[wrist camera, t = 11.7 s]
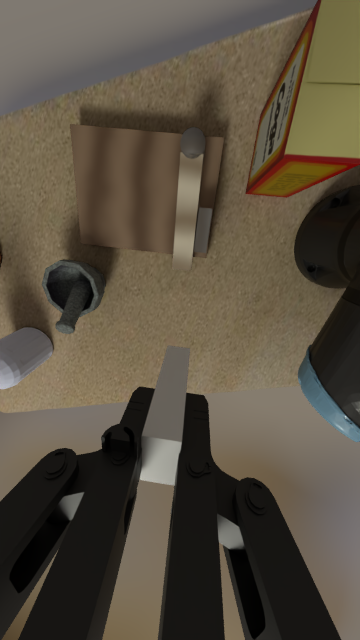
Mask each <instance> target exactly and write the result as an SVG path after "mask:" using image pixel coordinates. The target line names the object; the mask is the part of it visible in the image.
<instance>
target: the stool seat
mask: <svg viewBox="0 0 360 640" xmlns="http://www.w3.org/2000/svg"><path fill="white" fill-rule="evenodd" d="M70 129H71V140H72V151H73V161H74V172H75V183H76V194H77V205H78V216H79V227H80V238H81V244H89V245H98V246H106V247H115V248H124V249H132V250H141V251H149V252H158V253H167V254H173V250H174V236H175V222H176V208H177V194H178V180H179V166H180V152H182V151H181V146H180V142H181V137H182V135H183V134H177V133H165V132H154V131H143V130H131V129H120V128H109V127H97V126H86V125H75V124H70ZM223 143H224V138H222V137H211V136H205V155H204V158H203V168H202V177H201V186H200V195H199V204H198V213H197V223H196V232H195V241H194V250H193V257H201V258H206V257H207V250H208V244H209V237H210V230H211V223H212V217H213V210H214V203H215V196H216V190H217V183H218V176H219V170H220V163H221V156H222V149H223Z"/></svg>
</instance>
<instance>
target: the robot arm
mask: <svg viewBox="0 0 360 640" xmlns="http://www.w3.org/2000/svg"><path fill="white" fill-rule="evenodd" d="M294 255H295V261H296V264H297V266H298V268H299V270H300V272H301V273H302V274H303V275H304V276H305V277H306V278H307V279H308V280H310V281H312V282H314V283H316V284H319V285H321V286H324V287H329V288H346V290H345V292H344V293H343V295H342V296H341V298H340V299H339V301H338V303H337V304H336V306H335V308H334V309H333V311H332V313H331V314H330V316H329V317H328V319H327V321H326V322H325V324H324V326H323V327H322V329H321V331H320V332H319V334H318V335H317V337H316V339H315V340H314V342H313V344H312V345H310V346H309V347H308V349H307V351H306V356H305V358H304V359H303V361H302V363H301V365H300V367H299V370H298V380H299V383H300V385H301V389H302V391H303V393H304V395H305V396H306V398H307V399H308V401H309V402H310V403H311V405H312V406H313V407H314V408H315V409H316V411H317V412H318V413H319V414H320V415H321V416H322V417H323V418H324V419H325V420H326V421H327V422H329V423H330V424H331V425H332V426H333V427H335V428H336V429H337V430H338V431H340V432H341V433H343V434H344V435H345V436H347V437H348V438H350V439H352V440H353V441H355V442H360V185H356V186H352V187H349V188H346V189H343V190H340V191H338V192H336V193H333V194H332V195H330V196H328V197H326V198H325V199H324V200H322V201H321V202H320V203H318V204H317V205H316V206H315V207H314V208H313V209H312V210H311V211H310V213H309V214H308V215H307V216H306V218H305V219H304V221H303V222H302V224H301V226H300V228H299V230H298V233H297V236H296V240H295V246H294ZM189 354H190V348H183V347H175V346H168V347H167V350H166V354H165V357H164V361H163V364H162V367H161V371H160V374H159V378H158V381H157V385H156V388H155V389H153V388H146V387H138V388H137V389H136V390H135V391H134V392H133V393H132V396H131V398H130V400H129V403H128V405H127V408H126V410H125V412H124V415H123V417H122V419H121V421H120V424H117V425H114V426H112V427H110V428H109V429H107V430H106V431H105V432H104V434H103V435H102V437H101V440H102V449H100V450H99V451H96V452H92V453H87V454H81V455H76V453H75V452H74V451H73V450H72V449H67V448H62V449H57V450H55V451H52V452H50V453H49V454H47V455H46V456H45V457H44V458H42V459H41V460H40V461H39V462H38V463H37V464H36V465H35V467H33V468H32V469H31V470H30V471H29V473H28V474H27V475H26V476H25V477H24V478H23V479H22V480H21V481H20V482H19V483H18V484H17V485H16V486H15V487H14V488H13V489H12V490H11V491H10V492H9V493H8V494H7V495H6V496H5V497H4V498H3V499H2V500H1V501H0V640H1V639H2V638H3V636H4V635H5V633H6V631H7V630H8V628H9V627H10V625H11V624H12V622H13V620H14V619H15V617H16V615H17V614H18V612H19V611H20V609H21V608H22V606H23V605H24V603H25V601H26V600H27V598H28V597H29V595H30V593H31V592H32V590H33V589H34V587H35V585H36V584H37V582H38V581H39V579H40V578H41V576H42V574H43V573H44V571H45V569H46V568H47V567H48V565H49V563H50V562H51V560H52V558H53V557H54V555H55V554H56V552H57V550H58V549H59V550H58V552H57V554H56V557H55V559H54V561H53V563H52V566H51V568H50V570H49V573H48V574H47V577H46V579H45V581H44V583H43V586H42V588H41V590H40V592H39V594H38V597H37V599H36V601H35V604H34V606H33V608H32V610H31V612H30V615H29V617H28V619H27V621H26V624H25V626H24V628H23V630H22V632H21V635H20V637H19V639H18V640H102V637H103V633H104V629H105V625H106V621H107V617H108V612H109V608H110V604H111V600H112V596H113V592H114V587H115V584H116V579H117V575H118V571H119V567H120V563H121V558H122V554H123V550H124V546H125V542H126V538H127V534H128V529H129V525H130V521H131V517H132V513H133V509H134V504H135V500H136V494H137V486H138V482H139V478H140V480H145V481H151V482H157V483H163V484H169V485H174V496H173V502H172V508H171V520H170V530H169V539H168V548H167V558H166V567H165V577H164V586H163V596H162V605H161V615H160V624H159V635H158V640H225V636H224V620H223V603H222V587H221V570H220V554H219V542H220V543H221V544H222V545H223V548H224V552H225V557H226V560H227V565H228V569H229V573H230V578H231V582H232V586H233V590H234V595H235V599H236V603H237V607H238V612H239V616H240V620H241V624H242V628H243V632H244V637H245V640H341V639H340V636H339V634H338V632H337V630H336V627H335V625H334V623H333V621H332V619H331V617H330V615H329V613H328V610H327V608H326V606H325V604H324V602H323V600H322V598H321V596H320V593H319V591H318V589H317V587H316V585H315V583H314V581H313V579H312V577H311V574H310V572H309V570H308V568H307V566H306V564H305V562H304V560H303V557H302V555H301V553H300V551H299V549H298V547H297V545H296V543H295V540H294V538H293V536H292V534H291V532H290V530H289V528H288V526H287V523H286V521H285V519H284V517H283V515H282V513H281V511H280V509H279V507H278V505H277V502H276V500H275V498H274V496H273V495H272V493H271V492H270V490H269V489H268V488H267V487H266V486H265V485H264V484H263V483H262V482H260V481H258V480H256V479H255V478H248V477H247V478H244V479H242V480H240V481H239V480H237V479H235V478H233V477H231V476H229V475H228V474H226V473H225V472H223V471H221V469H220V468H219V467H218V466H217V465H216V464H215V462H214V460H213V458H212V455H211V449H210V430H209V414H208V413H209V410H208V402H207V400H206V399H205V396H204V395H198V394H191V393H186V389H187V377H188V366H189ZM59 547H60V548H59Z"/></svg>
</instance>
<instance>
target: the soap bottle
mask: <svg viewBox="0 0 360 640" xmlns="http://www.w3.org/2000/svg"><path fill="white" fill-rule="evenodd" d="M52 352H53V345H52V343H51V341H50V339H49V338H48V337H47V335H46V334H45V333H43V332H42V331H40V330H38V329H35V328H32V327H24V328H22V329H19V330H17V331H15V332H13V333H11V334H10V335H8V336H6V337H4V338H2V339H0V389H6V388H9V387H12V386H15V385H16V384H17V383H19V382H20V381H21V380H22V379H24V378H25V377H26V376H27V375H29V374H30V373H31V372H32V371H34V370H35V369H36V368H37V367H39V366H40V365H41V364H42V363H44V362H45V361H46V360H47V359H48V358H49V357H50V356H51V355H52Z"/></svg>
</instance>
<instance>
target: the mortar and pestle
mask: <svg viewBox="0 0 360 640" xmlns="http://www.w3.org/2000/svg"><path fill="white" fill-rule="evenodd" d="M42 286H43V289H44V291H45V294H46V296H47V299H48V301H49V302H50V303H51V304H52V305H53V306H54V307H56V308H57V309H58V310H59V311H60V312H62V316H61V318H60V321H58V322H57V323H56V329H57V330H58V331H59V332H62V333H66V334H70V333H73V332H74V330H75V324H76V322H77V320H78V318H79V317H81V316H83V315H85V314H87V313H89V312H91V311H93V310H95V309H96V308H97V307H98V306H99V305H100V302H101V299H102V297H103V294H104V292H105V291H104V288H105V286H106V284H105V280H104V277H103V275H102V274H101V273H100V272H99V271H98V270H97V269H96V268H93V267H91V266H89V265H88V264H87V263H83V262H78V261H73V260H59V261H58V262H56V263H54V264H53V265H51V266H49V267H48V268H46V269H45V274H44V278H43V282H42Z"/></svg>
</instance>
